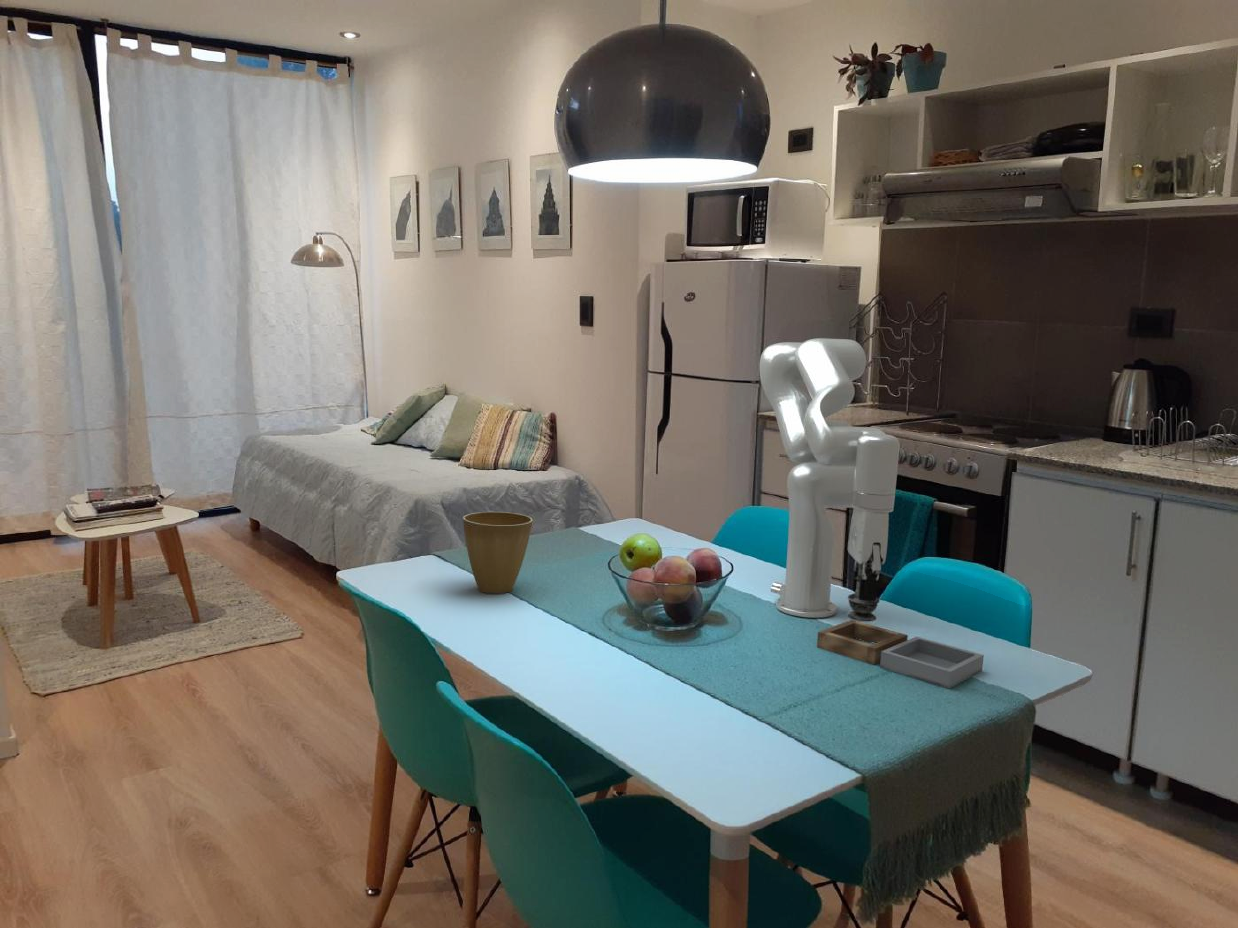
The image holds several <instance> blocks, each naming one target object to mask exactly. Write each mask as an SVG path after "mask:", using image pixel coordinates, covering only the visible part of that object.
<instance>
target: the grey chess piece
mask: <svg viewBox="0 0 1238 928" xmlns="http://www.w3.org/2000/svg"><path fill="white" fill-rule="evenodd" d="M867 563H872V560H871V561H870V560H868V561H867ZM869 568H871V566H867V571H868V569H869ZM862 572H863V563H862V564H859V570H858V577H856V580H857V586H856V591H855V592H854V593H852V594H851V593H850V594H848V595H847V600H848V604H849V607H850V608H851V609H852V610H851V611H850V612H848V613H847V617H848V618H849V619H850V620H855V621H859V622H864V623H866V622H869V623H870V622H874V621H876V620H877V616H876V615H875V614H873V612H874V611H876V609H877V607H878V603H880V599H879V598H878V597H877V598H876V600H875V601H868V600H860V599H859V587H860V579H862Z"/></svg>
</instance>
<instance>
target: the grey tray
mask: <svg viewBox="0 0 1238 928" xmlns="http://www.w3.org/2000/svg"><path fill="white" fill-rule="evenodd" d="M984 656H985V655H984V654H982V653H977V652H974V651H971V650H967V649H964V648H960V647H955V646H952V645H948V644H945V643H942V642H938V641H935V640H934V641H933V640H930V639H927V638H923V637H919V636H915V637H912V638H909V639H907V641H905V642H902V643H900V644H898V645H895V646H893V647H891V648H888V649H886V650H884V651H881V661H880V662H879V663H880V664H879V668H880V669H883V670H887V671H890V672H893V673H896V674H900V675H903V676H906V677H909V678H912V679H915V680H919V681H922V682H926V683H929V684H933V685H935V686H939V687H942V688H945V689H951V688H953V687H955V686H956V685H959V684H961V683H962V681H963V682H964V680H965V681H966V680H968V679H970V678H972V677H974V676H976V675H978V674H980V673H981V672H983V667H984V658H985V657H984ZM960 682H961V683H960ZM958 683H959V684H958Z"/></svg>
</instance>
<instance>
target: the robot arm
mask: <svg viewBox="0 0 1238 928" xmlns="http://www.w3.org/2000/svg"><path fill="white" fill-rule="evenodd" d="M866 367H867V357H866V352H865V350H864V348H863V347H862V345H861V344H860V343H859V342H857V341H856V340H853V339H845V338H825V337H824V338H823V337H822V338H819V337H818V338H811V339H808V340H805V341H803V342H793V341H792V342H791V341H788V342H787V341H785V342H778V343H774V344H773V343H772V344H770V345H768V346H767V347H766V348H765V349H763V352H762V353H761V355H760V359H759V379H760V383H761V386H762V389H763V392H764V394H765V397H766V398H767V400H768V402H769V404H770V405H771V408H772V409H773V412H774V415H775V418H776V419H775V420H776V422H777V426H778V431H779V433H780V437H781V441H782V445H783V448H784V451H785V454H786V457H787V458H788V459H789V460H790V461H791V462H793V463H796V465H795V466H794V467H792V468H791V470H790V471H789V473H788V475H787V482H786V487H787V488H786V489H787V496H788V508H789V509H788V512H789V513H788V514H789V516H788V517H789V520H788V538H787V540H788V541H787V550H786V551H787V552H786V553H787V555H786V568H785V583H782V582H778V581H774V582H772V585H771V587H770V592H771V593H773V594H778V595H779V598H778V599H777V600H776V608H777V610H779V611H780V612H782V613H785V614H787V615H790V616H795V617H801V618H810V619H811V618H812V619H813V618H815V619H816V618H818V619H820V618H828V617H832V616H834V615H835V614H836V613H837V610H838V609H837V605H836V604H835V603H833V602H831V587H832V574H833V563H834V562H833V561H834V550H835V549H834V547H835V534H836V533H835V526H834V524H833V521H832V520H831V518H830V517H829V516H828V514H827V512H826V509H836V508H837V509H839V508H840V509H841V508H842V509H843V508H844V509H845V508H847V509H848V508H853V510H852V516H851V519H850V521H851V522H850V527H849V533H848V542H847V551H848V554H849V555H850V556H851V557H852V558H853V560H854V563H853V564H854V565H853V573H852V585H851V591H852V592H854V593H855V591H856V586H857V580H856V577H858V570H859V564H862V563H863V572H862V579H860V587H859V599H860V600H868V601H875V600H876V598H878V596H877V595H878V586H879V585H878V584H879V580H880V579H879V577H880V573H881V571H882V566H883V565H884V564H885V563H886V558H887V551H888V540H889V519H890V518H889V513H892V512H894V510H895V509H894V507H895V498H896V487H897V477H898V467H899V457H900V447H901V446H900V445H901V443H900V440H899V438H898V437H896V436H894V435H891V434H887V433H885V432H884V431H883V430H882V429H879V428H877V427H872V426H871V427H870V426H869V427H868V426H853V425H852V424H850V423H849V422H847V421H844V420H838V419H836V420H835V419H834V420H832V419H826V418H828V417H830V416H832V415H834V414H837V413H838V412H839V413H840V411H842V410H844V409H846V407H848V406H849V405H850V404H851V403H852V401H853V400H854V397H855V390H856V389H855V386H854V384H853V382H852V381H855V380H858V379H859V378H860V377H861V376H862V375H863V374H864V372H865V370H866ZM795 382H804V384H805V387H806V390H807V392H808V393H809V395H808V394H807V393H806V391H805V390H803V389H802V388H801V387H800V386H799V385H797V384H796V383H795ZM868 560H870V561H872V563H867V561H868ZM867 566H871V568H869V569H868V571H867Z"/></svg>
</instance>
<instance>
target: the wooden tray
mask: <svg viewBox="0 0 1238 928" xmlns="http://www.w3.org/2000/svg"><path fill="white" fill-rule="evenodd" d="M908 636H909V635H908V634H906V633H902V632H898V631H896V630H895V631H894V630H891V629H888V628H883V627H881V626H876V625H872V624H869V623H866V622H863V621H857V620H854V619H850V620H847V621H844V622H842V623H839V624H836V625H833V626H830V627H828V628H825V629H822V630H819V631H818V632H817V641H816V642H817V643H816V648H819V649H821V650H822V649H823V650H825V651H828V652H831V653H835V654H837V655H841V656H844V657H848V658H851V659H854V660H857V661H861V662H863V663H867V664H870V665H877V664H879V663H880V661H881V651H884V650H886V649H888V648H891V647H893V646H895V645H898V644H900V643H902V642H905V641H907V640H908ZM856 638H857V639H856ZM859 639H861V640H859ZM863 640H864V641H863ZM870 642H874V643H875V644H873V643H870Z"/></svg>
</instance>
